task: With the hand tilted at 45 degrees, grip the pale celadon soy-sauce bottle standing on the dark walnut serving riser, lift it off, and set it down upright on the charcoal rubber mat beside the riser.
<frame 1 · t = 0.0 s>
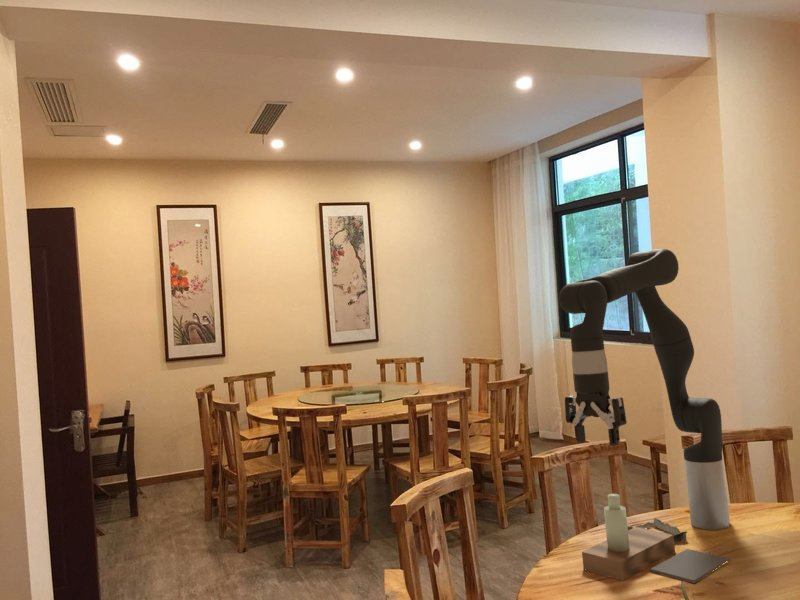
hand: (597, 443, 144), 29 cm above the table, tool pointing down, fingers open, 8 cm apart
charcoal mat: (690, 566, 145), on the table
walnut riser: (630, 560, 151), on the table
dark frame: (656, 539, 165), on the table
celadon bottle: (618, 547, 149), point 4 cm above the table, touching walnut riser
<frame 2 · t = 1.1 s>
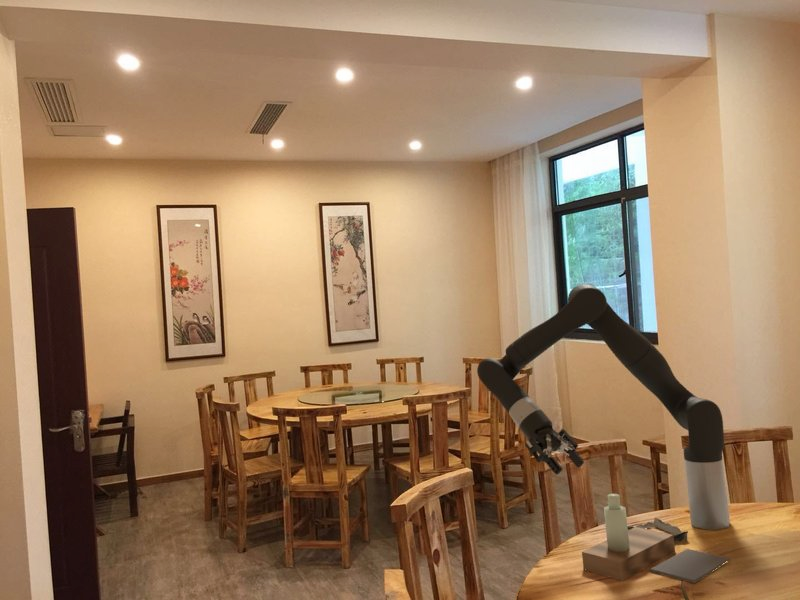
hand: (570, 468, 158), 21 cm above the table, tool tilted 45°, fingers open, 8 cm apart
nothing on the table moved.
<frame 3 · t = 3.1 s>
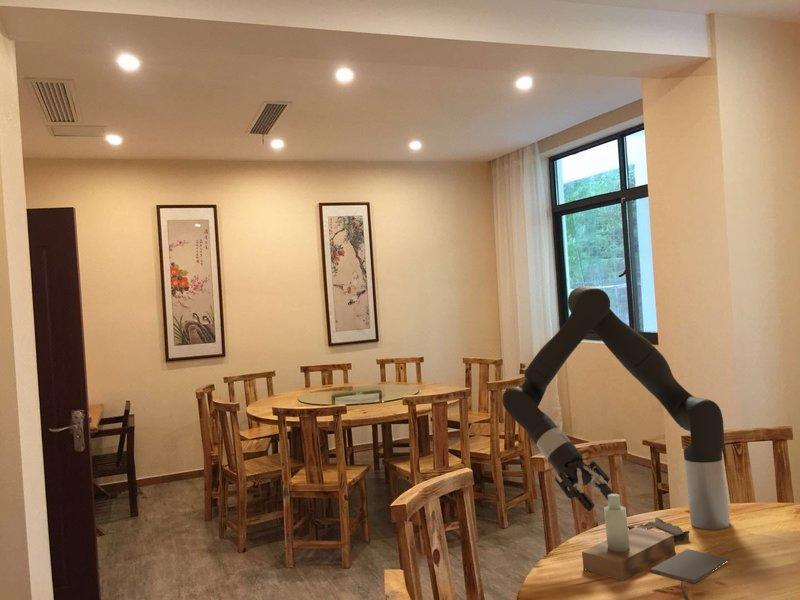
hand: (603, 504, 152), 13 cm above the table, tool tilted 45°, fingers open, 8 cm apart
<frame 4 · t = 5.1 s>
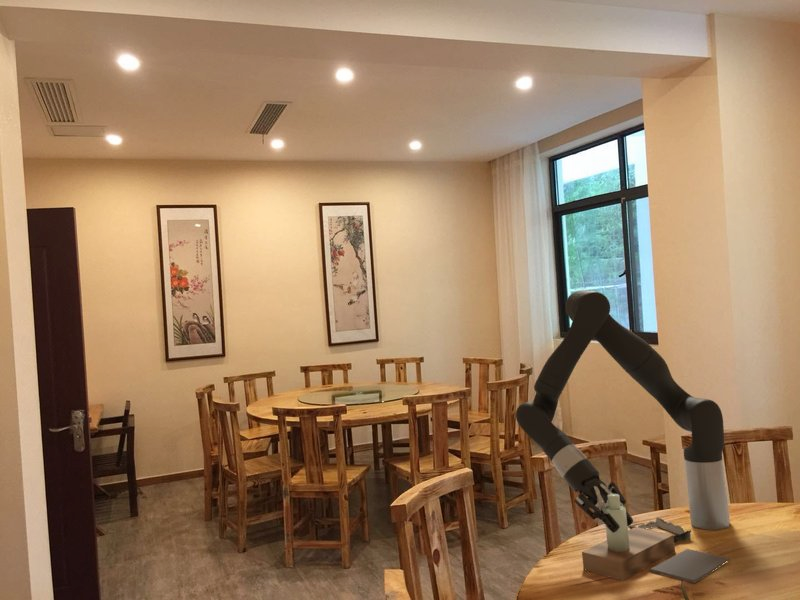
hand: (623, 526, 148), 9 cm above the table, tool tilted 45°, fingers closed on celadon bottle, 5 cm apart
celadon bottle: (618, 547, 149), point 4 cm above the table, touching gripper, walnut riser
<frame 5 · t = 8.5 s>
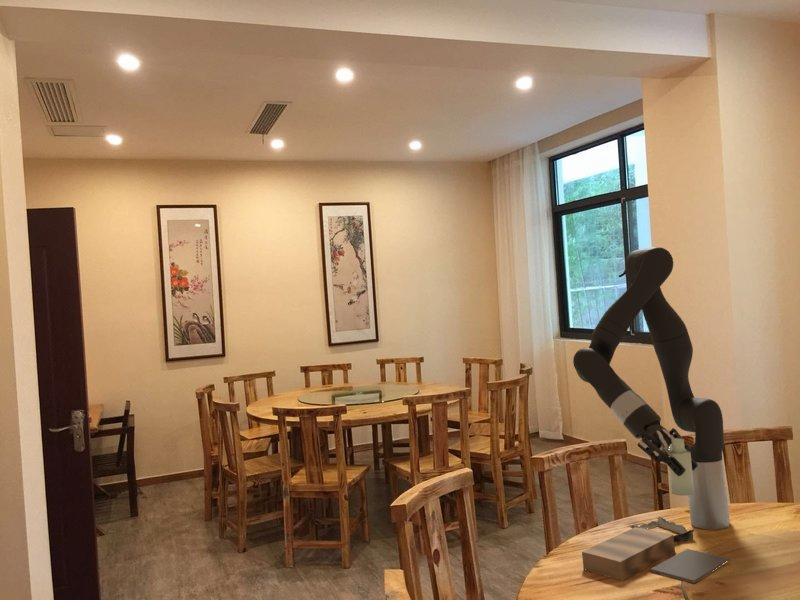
hand: (688, 470, 144), 21 cm above the table, tool tilted 45°, fingers closed on celadon bottle, 4 cm apart
celadon bottle: (682, 492, 146), point 16 cm above the table, touching gripper
when the fingers open (7 cm above the table, at t = 11.8 s): celadon bottle drops 1 cm, resting on charcoal mat.
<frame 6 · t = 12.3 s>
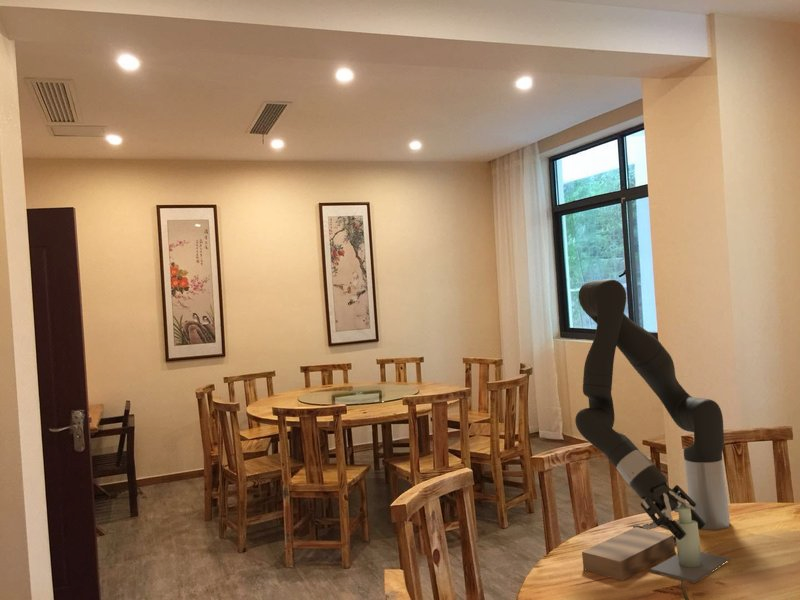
hand: (692, 532, 144), 8 cm above the table, tool tilted 45°, fingers open, 8 cm apart
celadon bottle: (690, 563, 145), point 1 cm above the table, touching charcoal mat
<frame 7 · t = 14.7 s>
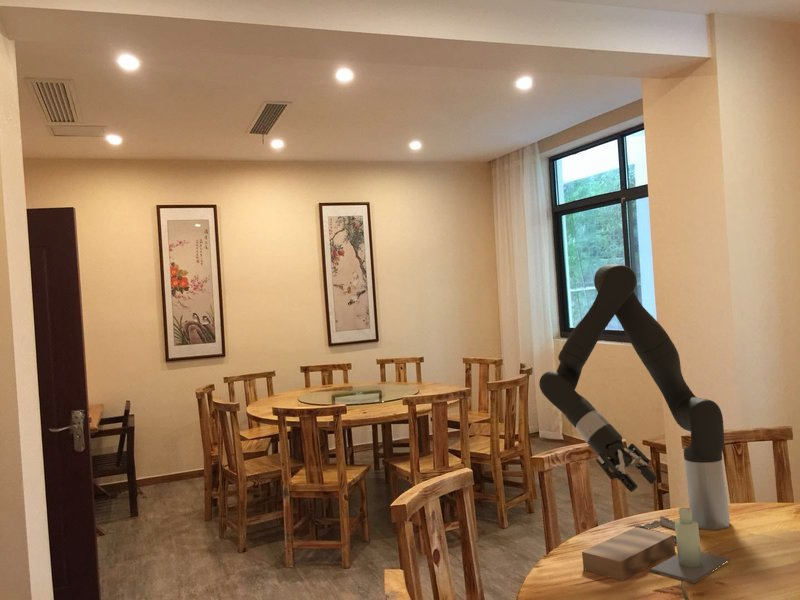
hand: (644, 485, 153), 17 cm above the table, tool tilted 45°, fingers open, 8 cm apart
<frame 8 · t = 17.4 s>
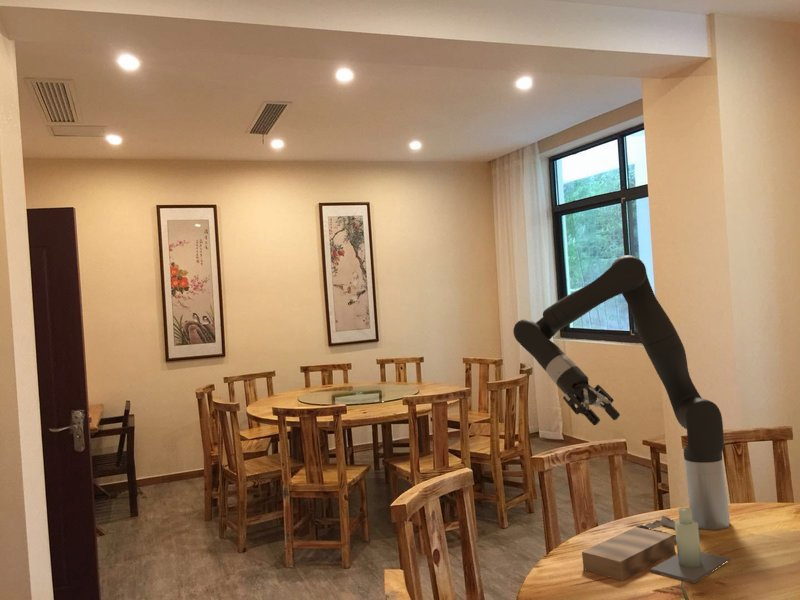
hand: (607, 420, 165), 31 cm above the table, tool tilted 45°, fingers open, 8 cm apart
at the end: celadon bottle inside the target area on the charcoal mat (0.1 cm from its centre), point 0.6 cm above the charcoal mat's base; celadon bottle tilted 0°; the gripper is holding nothing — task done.
